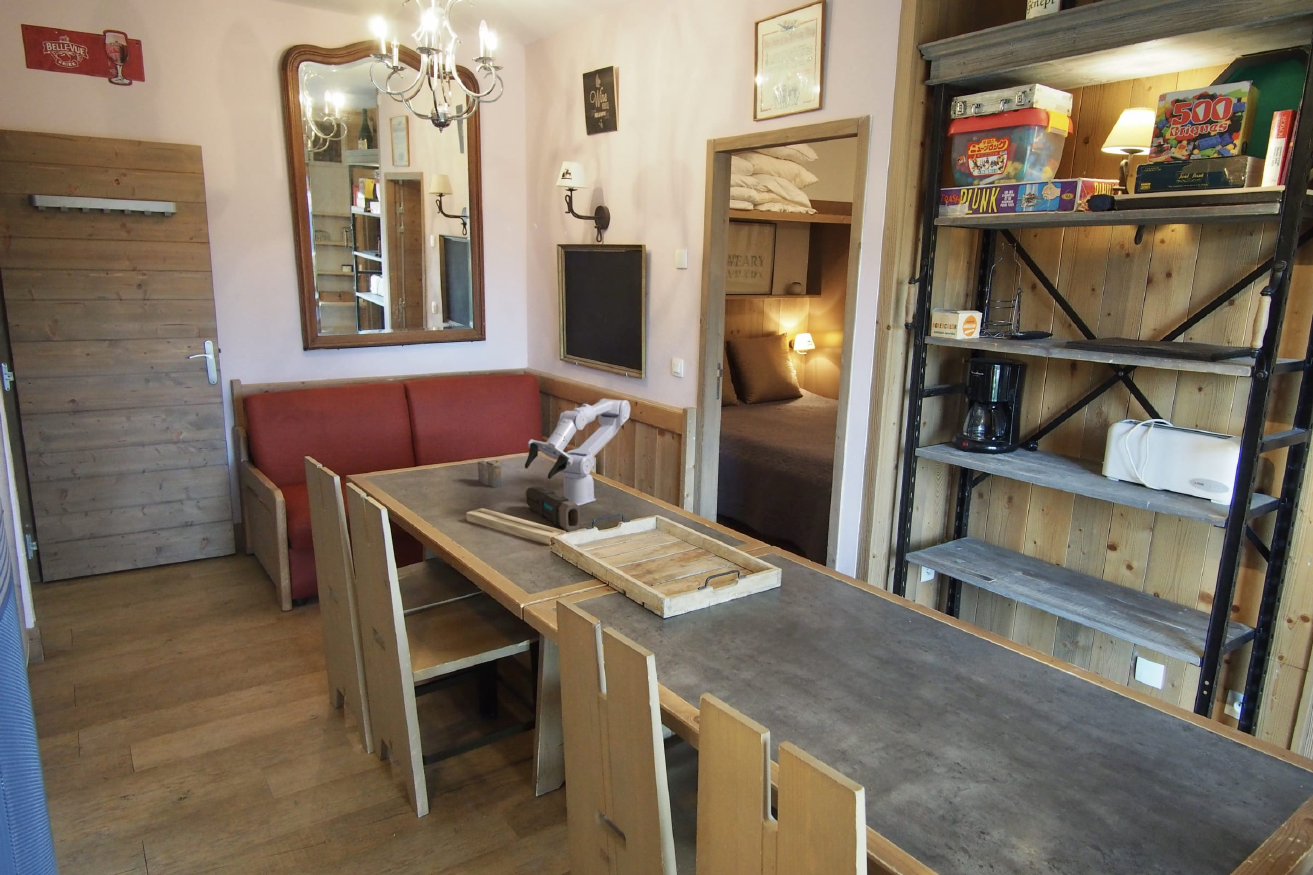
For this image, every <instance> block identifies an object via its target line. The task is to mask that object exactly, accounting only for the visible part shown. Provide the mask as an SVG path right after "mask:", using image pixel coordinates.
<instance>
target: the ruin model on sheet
mask: <svg viewBox="0 0 1313 875" xmlns="http://www.w3.org/2000/svg"><path fill="white" fill-rule="evenodd" d="M501 461H502V460H501V459H500V460H499V459H498V458H497V459H496V460H495V463H493V462H489V461H485V460H479V461H477V470H478V471H477V474H478V482H479V483H480V484H481V483H482V484H485V485H486V486H489V487H492V488H495V489H496V488H500V487H502V469H501V468H502V467H501V465H499V464H500V463H501Z"/></svg>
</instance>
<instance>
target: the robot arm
mask: <svg viewBox="0 0 1313 875" xmlns="http://www.w3.org/2000/svg"><path fill="white" fill-rule="evenodd" d="M630 414H631V404H630V402H629V401H628V400H626V399H624V400H622V399H610V398H602V399H599V401H598V402H596V403H595V404H593V405H590V404H588V403H583V404H582V405H581V406H580V407H575V408H573V409H572V410H565V411H564V412H561V413H560V415H559V420H558V422H557V425H556V427H555V429H554V430H553V432H552V433H551V434H550V436H549V438H548V439H546V442H544V441H540V440H535V439H532V438H530V440H528V442H527V447H528V448H529V450H528V456H527V459H526V462H525V463H524V468H525V469H526V470H527V469H528V468H529V467H530V466H531V464H532V462H533V461H534V460H535V459H536V458H537V457H538V456H539V455H538V454H539V451H540V452H541V453H542V454H544V455H545V456H547V457H548V458H550V459H552V460H553V459H554V460H556V461H555V463H554V465H553V466H552V468H551V469H550V470H549V471H548V474H547V479H548V480H551V479H552V477H553V476H555V475H556V474H559V473H561V476H563V494H564V495H563V496H564V497H563V498H567V499H568V500H569V501H572V502H574V503H576V504H577V505H578V506H579V507H580V506H582V505H585V504H589V503H593V502H595V501H596V500H597V499H596V498H595V486H594V478H593V476H592V475H591V474H590V472H591V471H592V468H593V467H594V466H595V456H596V455H597V454H598V453H599V452H600V451H601V450H602V449H603V448H604V447H605V446H606V445H607V444H608V443H609V442H610V441H611V440H612V439H613V438H614V437H615V436H616V434H618V431H619V429H620V428H621V426H623V425H624V423H626V421H628V420H629V418H630ZM597 416H598V424H599V425H600V426H599V427H598V429H597V430H596V431H594V432H593V433H592V434H591V435H590V436H589V437H588V438H587V439H586V440H585V441H584V442H583V443H582V444H581V445H580V446H579V447H578V448H574V449H571V450H570V449H569V450H568V451H567V452H564V450H565V449H566V447H567V445H568V444H569V443H570V441H571V439H572V438H573V437H574V435H575V433H576V432H577V431H583V429H584V428H585V426H586V425H588V424H589V423H592V422H593V421H595V420H596V417H597Z"/></svg>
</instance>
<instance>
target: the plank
mask: <svg viewBox="0 0 1313 875" xmlns="http://www.w3.org/2000/svg"><path fill="white" fill-rule="evenodd" d="M465 513H466V514H465V515H466V522H470V523H474V524H477V525H481V526H484V527H488V528H491V529H494V530H497V531H501V532H505V533H508V534H511V535H513V536H514V535H515V536H517V537H521V538H523V539H528V540H530V541H534V542H537V543H541V544H544V545H548V546H552V545H551V542H550V538H551V537H553V536H557V535H560V534H565V533H566V534H567V531H566V530H564V529H563V530H562V529H559V528H556V527H552V526H548V525H545V524H540V523H539V522H538V523H537V522H535V521H530V520H526V519H523V518H519V517H517V516H516V517H515V516H512V515H508V514H505V513H502V512H498V511H494V510H490V509H487V508H483V507H481V508H477V509H473V510H470V511H467V512H465Z"/></svg>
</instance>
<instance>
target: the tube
mask: <svg viewBox="0 0 1313 875" xmlns="http://www.w3.org/2000/svg"><path fill="white" fill-rule="evenodd" d="M524 501H525V503H526V505H527V506H528V507H529V508H530V509H531V510H532V511H533V512H534V513H537V514H538V515H540V516H541V517H542V518H543V519H544V520H549V521H550V522H552V523H554V524H555V525H556V526H557V527H558V528H562V529H563V530H564V531H566V532H569V533H571V532H576V531H578V530H579V528H580V527H581V521H582V520H581V508H580V506H578V505H577V504H576V503H574V502H572V501H569V500H568V499H567V498H564V497H561V496H559V495H557V494H556V493H555V492H554V491H552V490H547V489H545V488H543V487H541V486H527V487H526V488H525V489H524Z"/></svg>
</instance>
